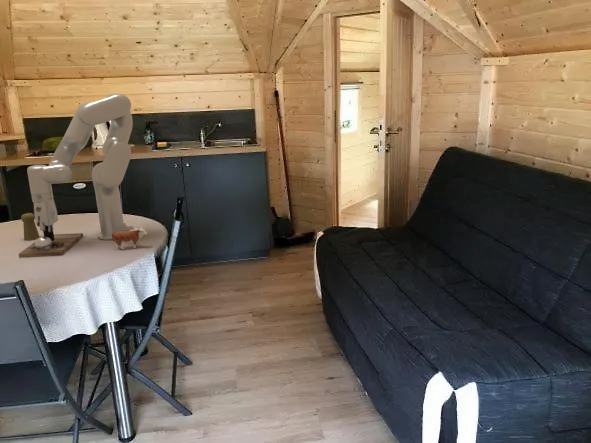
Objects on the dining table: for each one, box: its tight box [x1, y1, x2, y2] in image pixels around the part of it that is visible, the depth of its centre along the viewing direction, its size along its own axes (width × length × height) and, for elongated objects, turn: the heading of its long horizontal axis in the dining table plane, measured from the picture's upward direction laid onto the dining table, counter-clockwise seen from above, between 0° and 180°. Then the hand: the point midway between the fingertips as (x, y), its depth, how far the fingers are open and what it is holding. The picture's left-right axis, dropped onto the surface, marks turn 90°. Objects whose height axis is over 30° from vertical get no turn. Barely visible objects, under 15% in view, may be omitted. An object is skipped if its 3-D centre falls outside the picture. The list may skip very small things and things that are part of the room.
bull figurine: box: [111, 227, 148, 251], centre depth 193 cm, size 4×13×8 cm, turn 98°
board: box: [18, 232, 84, 258], centre depth 199 cm, size 24×16×2 cm, turn 4°
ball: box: [34, 235, 53, 250], centre depth 193 cm, size 6×6×6 cm
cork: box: [20, 212, 41, 241], centre depth 209 cm, size 6×6×11 cm
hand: (49, 240), depth 197 cm, fingers closed
